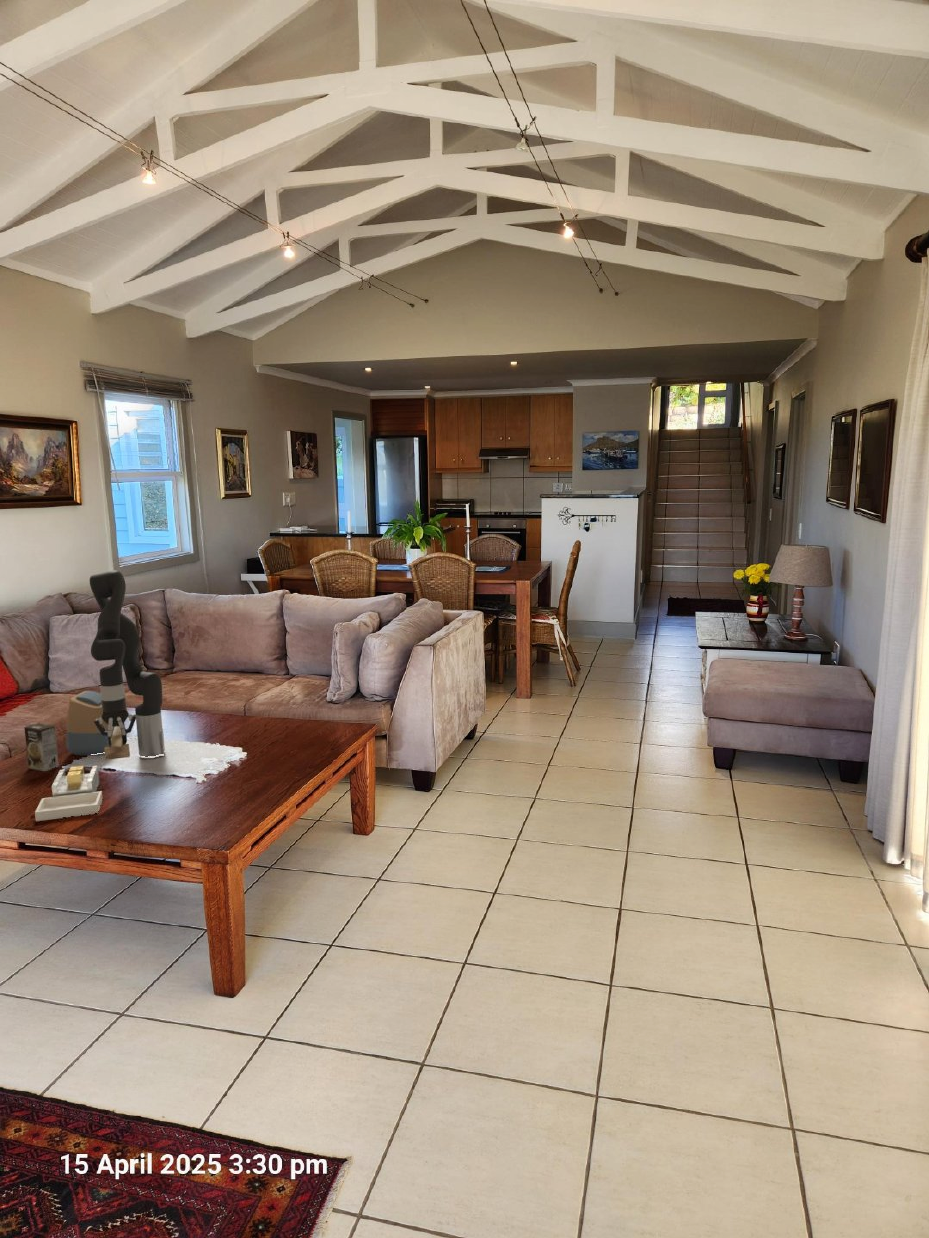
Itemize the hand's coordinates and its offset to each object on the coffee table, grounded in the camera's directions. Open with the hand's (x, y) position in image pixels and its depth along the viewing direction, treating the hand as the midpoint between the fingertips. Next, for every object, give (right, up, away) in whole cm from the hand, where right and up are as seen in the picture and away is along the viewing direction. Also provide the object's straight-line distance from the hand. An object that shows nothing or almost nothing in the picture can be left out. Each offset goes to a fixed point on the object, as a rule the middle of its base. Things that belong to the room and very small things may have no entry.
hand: (118, 745), depth 273 cm
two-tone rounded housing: (-28, -9, +44) cm, 54 cm away
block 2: (-13, -13, -3) cm, 19 cm away
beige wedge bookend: (0, -2, +1) cm, 3 cm away
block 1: (-15, -12, +1) cm, 19 cm away
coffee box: (-39, -13, +25) cm, 48 cm away
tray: (-9, -19, -15) cm, 26 cm away
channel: (-14, -16, -1) cm, 21 cm away
